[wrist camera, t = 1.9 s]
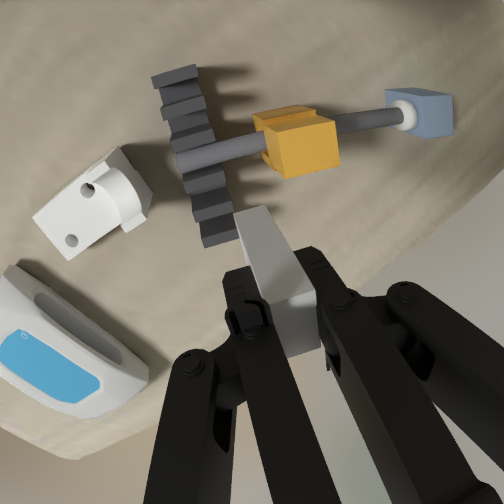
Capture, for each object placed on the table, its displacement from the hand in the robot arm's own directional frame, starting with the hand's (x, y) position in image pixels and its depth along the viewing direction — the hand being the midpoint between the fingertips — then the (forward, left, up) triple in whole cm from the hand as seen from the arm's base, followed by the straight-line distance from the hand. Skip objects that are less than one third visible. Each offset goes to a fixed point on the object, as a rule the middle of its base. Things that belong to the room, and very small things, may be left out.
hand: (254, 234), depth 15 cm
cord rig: (0, +11, -22) cm, 25 cm away
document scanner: (+22, -35, -23) cm, 47 cm away
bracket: (+2, -16, -23) cm, 28 cm away
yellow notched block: (0, +7, -20) cm, 21 cm away
